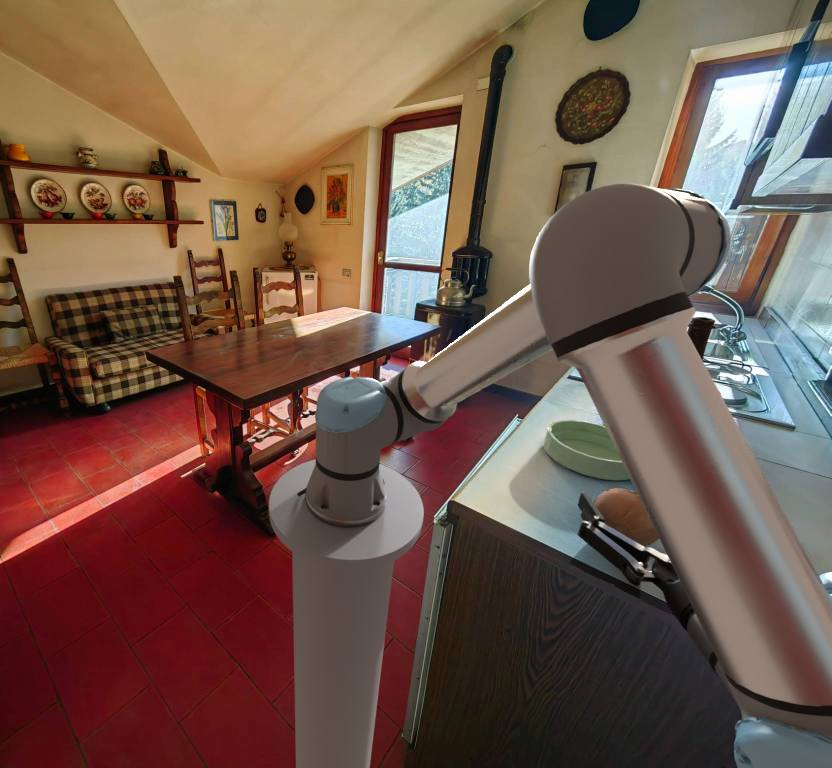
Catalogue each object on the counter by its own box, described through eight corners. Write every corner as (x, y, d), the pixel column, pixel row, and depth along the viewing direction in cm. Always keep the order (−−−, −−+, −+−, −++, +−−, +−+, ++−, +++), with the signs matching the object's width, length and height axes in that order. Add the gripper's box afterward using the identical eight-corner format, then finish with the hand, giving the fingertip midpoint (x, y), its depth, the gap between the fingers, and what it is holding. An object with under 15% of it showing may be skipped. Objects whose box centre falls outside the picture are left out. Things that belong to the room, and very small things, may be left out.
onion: (634, 550, 68) (684, 514, 63) (627, 568, 61) (682, 528, 57) (584, 506, 73) (626, 470, 68) (572, 518, 66) (618, 479, 62)
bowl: (580, 485, 80) (587, 464, 78) (526, 439, 96) (531, 421, 94) (659, 479, 82) (668, 459, 80) (593, 436, 98) (599, 418, 96)
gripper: (596, 624, 50) (541, 511, 69) (830, 664, 45) (702, 532, 65) (614, 581, 47) (551, 476, 66) (866, 620, 42) (720, 496, 62)
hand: (625, 504), depth 65 cm, fingers open, 13 cm apart
